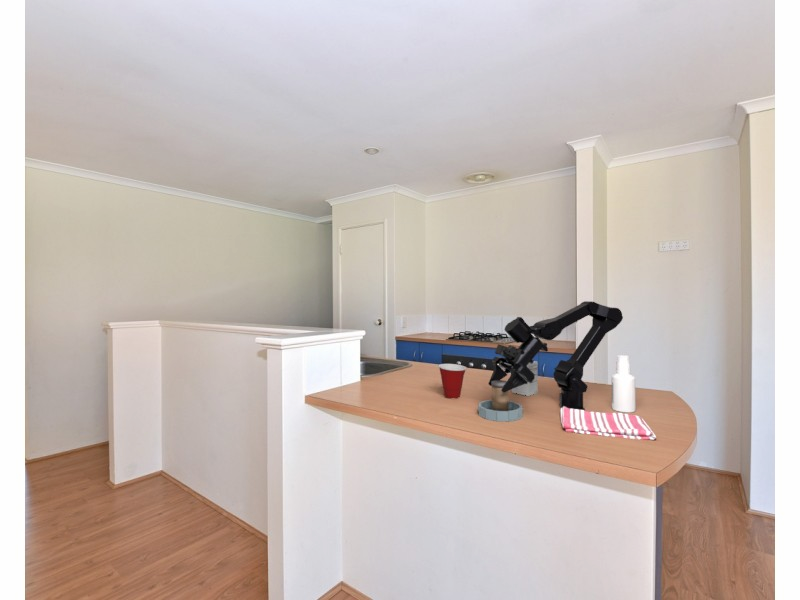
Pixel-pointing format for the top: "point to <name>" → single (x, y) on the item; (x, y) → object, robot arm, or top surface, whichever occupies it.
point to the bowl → (512, 414)
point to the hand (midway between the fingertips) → (495, 388)
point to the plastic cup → (452, 379)
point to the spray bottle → (623, 386)
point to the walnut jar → (499, 396)
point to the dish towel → (605, 424)
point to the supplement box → (529, 387)
